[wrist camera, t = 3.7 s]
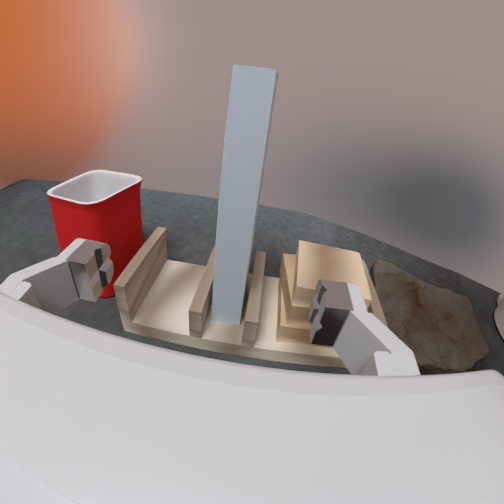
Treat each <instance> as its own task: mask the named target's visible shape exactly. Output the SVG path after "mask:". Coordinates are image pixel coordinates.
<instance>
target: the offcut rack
mask: <svg viewBox="0 0 504 504" xmlns="http://www.w3.org/2000/svg"><path fill="white" fill-rule="evenodd" d="M215 245H216V244H215ZM265 258H266V252H262V251H256V256H255V262H254V268H253V274H248V281H247V287H246V293H245V298H244V304H243V309H242V314H241V320H240V325H235V324H229V323H224V322H218V321H213V320H211V317H212V296H213V277H214V261H215V246H214V248H213V250H212V253H211V255H210V258H209V260H208V263H207V265H206V266H201V265H195V264H190V263H184V262H178V261H172V260H167V234H166V228H163V227H157V228H156V229H155V231H154V232H153V233H152V234H151V236H150V237H149V238H148V239H147V241H146V242H145V243H144V244H143V246H142V247H141V248H140V250H139V251H138V252H137V253H136V255H135V256H134V257H133V259H132V260H131V261H130V263H129V264H128V265H127V267H126V268H125V269H124V271H123V272H122V273H121V275H120V276H119V277H118V279H117V280H116V281H115V283H114V284H113V286H114V290H115V295H116V299H117V303H118V308H119V312H120V316H121V320H122V324H123V327H124V331H127V332H131V333H134V334H138V335H142V336H146V337H150V338H154V339H158V340H162V341H166V342H170V343H175V344H179V345H184V346H188V347H193V348H198V349H203V350H208V351H213V352H219V353H224V354H230V355H236V356H242V357H248V358H255V359H262V360H269V361H277V362H285V363H294V364H303V365H314V366H325V367H339V368H347V367H346V366H345V364H344V363H343V361H342V360H341V359H340V357H339V356H338V354H337V353H336V352H335V350H334V349H333V348H328V347H318V346H308V345H300V344H291V343H283V342H276V328H277V307H278V285H279V280H280V278H274V277H268V276H264V267H265ZM361 260H362V259H361ZM362 264H363V267H364V271H365V275H366V278H367V282H368V286H369V290H370V294H371V298H372V301H371V303H370V305H369V307H368V309H367V311H368V313H372V314H373V315H374V316H375V317H376V318H377V319H379V320H380V321H381V322H382V323H383V324H384V325H385V326H386V327H387V328H388V325H387V322H386V319H385V316H384V313H383V310H382V308H381V305H380V302H379V299H378V296H377V293H376V291H375V288H374V285H373V283H372V280H371V277H370V275H369V272H368V269H367V267H366V264H365V262H364V260H362Z"/></svg>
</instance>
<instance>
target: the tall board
mask: <svg viewBox="0 0 504 504" xmlns="http://www.w3.org/2000/svg"><path fill="white" fill-rule="evenodd" d="M277 78H278V74H277V70H276V69H270V68H262V67H252V66H242V65H234V66H233V73H232V80H231V88H230V96H229V105H228V114H227V122H226V131H225V141H224V151H223V161H222V171H221V182H220V194H219V205H218V218H217V231H216V245H215V261H214V277H213V296H212V317H211V320H213V321H218V322H224V323H229V324H235V325H240V320H241V314H242V309H243V304H244V298H245V293H246V287H247V281H248V274H249V267H250V260H251V254H252V247H253V240H254V233H255V227H256V220H257V213H258V207H259V199H260V193H261V186H262V179H263V172H264V166H265V159H266V152H267V146H268V139H269V132H270V126H271V118H272V112H273V105H274V98H275V92H276V85H277Z"/></svg>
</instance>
